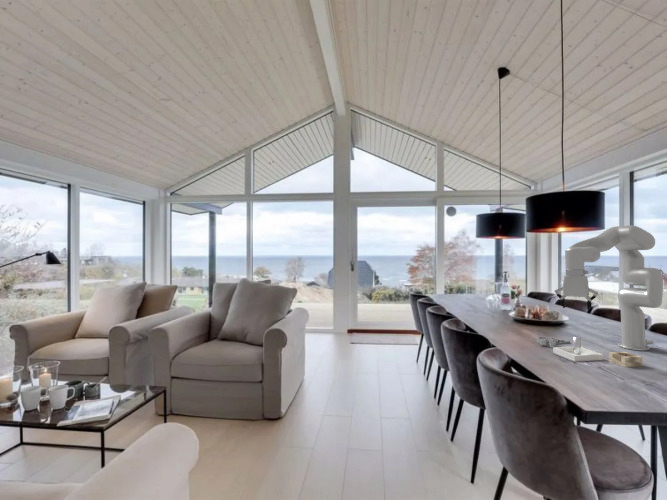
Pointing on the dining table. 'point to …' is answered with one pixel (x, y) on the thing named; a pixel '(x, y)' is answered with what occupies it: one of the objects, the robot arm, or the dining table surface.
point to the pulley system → (552, 344)
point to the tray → (585, 355)
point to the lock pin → (577, 345)
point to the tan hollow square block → (625, 359)
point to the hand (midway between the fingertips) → (576, 308)
